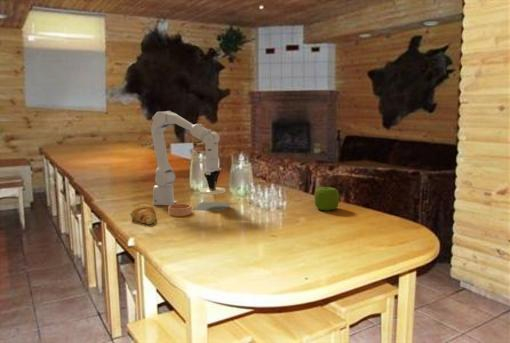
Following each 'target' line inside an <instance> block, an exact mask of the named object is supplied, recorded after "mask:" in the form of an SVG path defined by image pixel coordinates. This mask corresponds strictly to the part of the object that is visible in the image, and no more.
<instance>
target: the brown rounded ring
mask: <svg viewBox="0 0 510 343" xmlns="http://www.w3.org/2000/svg"><path fill="white" fill-rule="evenodd" d="M167 206H168V211H167V212H168V215H169V216H173V217H184V216H185V217H186V216H188V215H191V214H192V213H193V210H192V209H193V208H192V204H189V203H174V204H172V205H167Z"/></svg>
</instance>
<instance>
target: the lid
mask: <svg viewBox="0 0 510 343" xmlns="http://www.w3.org/2000/svg"><path fill="white" fill-rule="evenodd" d="M199 193H200V194H203V195H220V194H224V193H226V188H225V187H217V184H216V181H215V185H214V189H209V187H203V188H200V189H199Z"/></svg>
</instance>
